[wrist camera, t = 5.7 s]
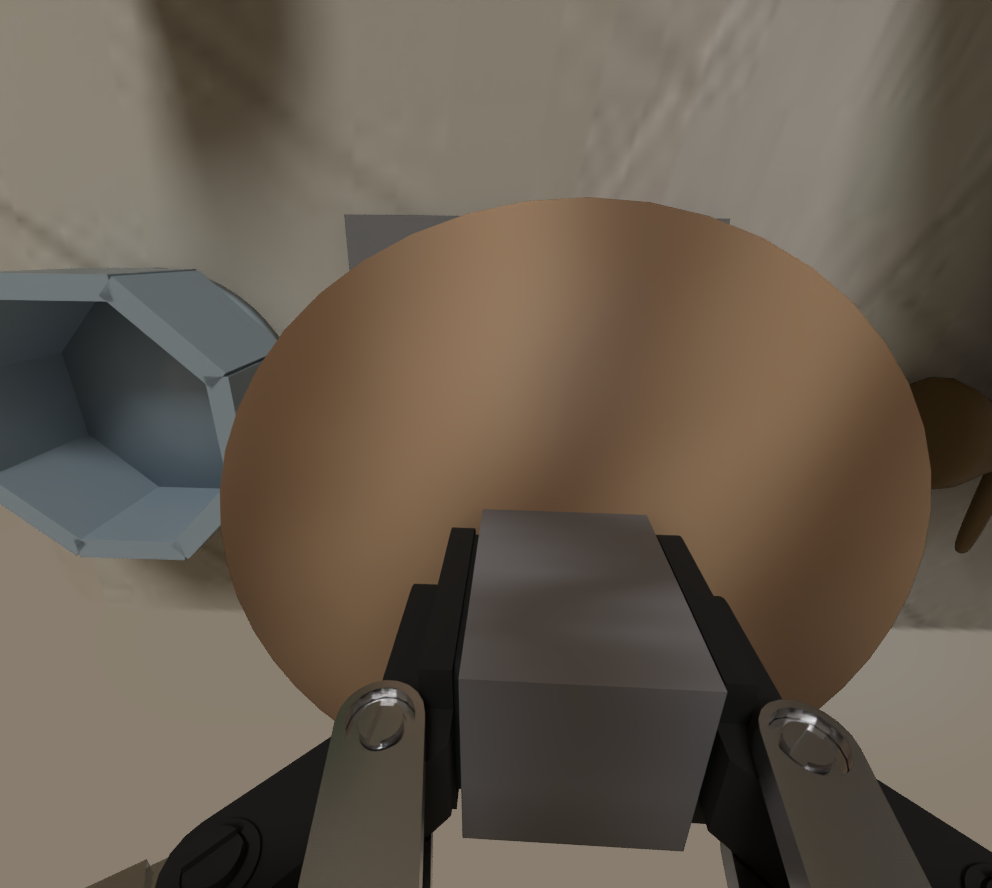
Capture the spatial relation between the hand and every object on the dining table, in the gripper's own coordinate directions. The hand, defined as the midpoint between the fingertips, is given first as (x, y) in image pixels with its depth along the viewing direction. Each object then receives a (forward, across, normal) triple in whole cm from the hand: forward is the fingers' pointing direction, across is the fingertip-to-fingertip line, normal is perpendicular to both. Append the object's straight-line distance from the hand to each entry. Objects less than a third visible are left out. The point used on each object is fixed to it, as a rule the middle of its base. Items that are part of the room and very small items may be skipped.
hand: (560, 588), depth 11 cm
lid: (+1, 0, 0) cm, 1 cm away
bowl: (+16, +20, +1) cm, 25 cm away
